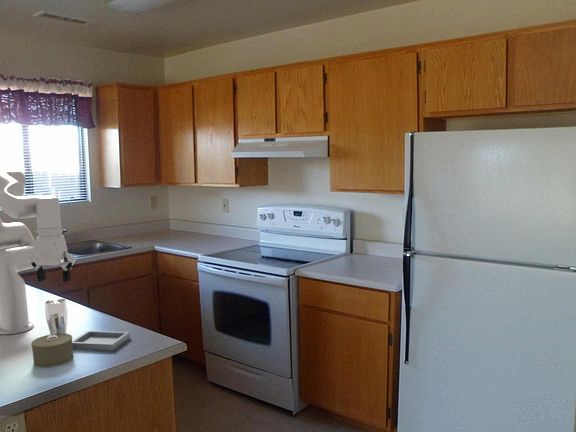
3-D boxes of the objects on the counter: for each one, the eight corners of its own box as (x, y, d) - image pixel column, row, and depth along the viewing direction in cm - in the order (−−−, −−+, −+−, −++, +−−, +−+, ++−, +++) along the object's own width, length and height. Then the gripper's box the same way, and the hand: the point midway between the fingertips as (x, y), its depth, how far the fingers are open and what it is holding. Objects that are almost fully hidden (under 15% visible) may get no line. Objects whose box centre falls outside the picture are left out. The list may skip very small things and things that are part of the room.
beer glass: (61, 346, 178) (58, 304, 177) (43, 345, 180) (40, 303, 178) (73, 339, 185) (70, 298, 183) (56, 338, 187) (53, 298, 185)
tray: (69, 349, 175) (68, 342, 175) (89, 337, 187) (88, 330, 187) (113, 351, 172) (112, 344, 172) (130, 338, 184) (129, 332, 184)
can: (32, 370, 159) (30, 349, 158) (34, 357, 170) (32, 337, 169) (74, 363, 163) (72, 342, 163) (73, 350, 174) (71, 331, 174)
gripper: (20, 234, 176) (24, 283, 178) (66, 234, 173) (70, 284, 175) (34, 230, 183) (38, 278, 185) (79, 230, 180) (82, 278, 182)
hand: (54, 281), depth 180 cm, fingers open, 9 cm apart
